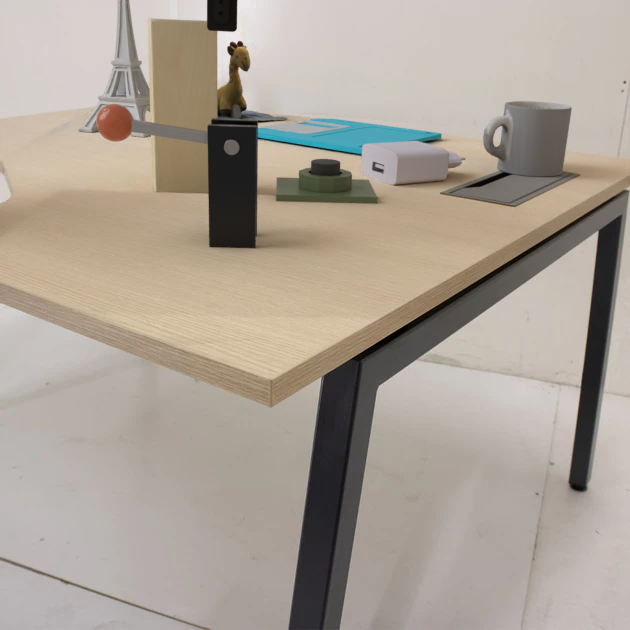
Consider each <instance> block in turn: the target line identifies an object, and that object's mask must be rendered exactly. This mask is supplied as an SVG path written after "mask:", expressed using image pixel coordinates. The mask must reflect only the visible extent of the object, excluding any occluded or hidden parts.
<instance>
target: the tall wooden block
mask: <svg viewBox="0 0 630 630" xmlns="http://www.w3.org/2000/svg"><path fill="white" fill-rule="evenodd" d="M146 22H147V23H146V25H147V28H146V29H147V51H148V53H147V55H148V83H149V84H148V86H149V89H150V112H149V113H150V114H149V119H150V120H149V122H152V123H158V124H165V125H171V126H177V127H183V128H189V129H195V130H202V131H207V126H208V124H211V120H212V118H217V90H218V31H210V30H208V29H207V20H200V19H177V18H153V17H147V20H146ZM150 149H151V153H150V154H151V180H152V182H151V183H152V184H151V185H152V188H153V191H154V193H163V194H164V193H166V194H167V193H168V194H169V193H170V194H201V195H202V194H205V195H208V144H203V143H197V142H191V141H185V140H178V139H172V138H166V137H160V136H154V135H150Z"/></svg>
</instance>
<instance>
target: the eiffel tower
mask: <svg viewBox="0 0 630 630" xmlns="http://www.w3.org/2000/svg"><path fill="white" fill-rule="evenodd" d="M116 3H117V5H116V7H117V9H116V10H117V12H116V13H117V14H116V32H115V33H116V36H115V48H114V57H113V58H114V59H113V60H111V61H110V64H111V65H112V68H111V72H110V75H109V78H108V82H107V84H106V87H105V90H104V92H103V93H102V95H98V96H97V98H98V100H99V101H98V103H97V104H96V106H95V107H94V108H93V110H92V111H91V113H90V114H89V115H88V117H87V118H86V120H85V121H84V123H83V124H82V125H81V126H80V128H78V132H83V133H95V132H99V131H98V129H97V126H96V118H97V115H98V113H99V111H100V110H101V109H102V108H103V107H105V106H106V105H109V104H119V105H122V106H124V107H125V108H127V109H128V110H129V111H130V113H131V114H132V116H133V119H134V120H140V121H146V122H147V120H146V113H147V112H149V113H150V89H149V84H148V82H147V80H146V78H145V75H144V73H143V70H142V68H141V65H142V63H143V61H142V60H139V56H138V51H137V46H136V40H135V33H134V28H133V20H132V11H131V5H130V4H131V3H130V0H117V2H116ZM149 136H150V137H151V135H147V134H141V133H135V132H132V133H131V135H130V136H129V137H137V138H138V137H139V138H146V137H149Z"/></svg>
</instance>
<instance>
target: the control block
mask: <svg viewBox="0 0 630 630" xmlns="http://www.w3.org/2000/svg"><path fill="white" fill-rule="evenodd" d="M275 189H276V190H275V201H276V202H293V203H295V202H296V203H297V202H298V203H331V204H332V203H334V204H336V203H337V204H372V205H373V204H375V205H376V204H378V196H377V194H376V192H375V190H374V188H373V186H372V183H371V181H370V180H369V179H359V178H358V179H355V178H353V173H352V172H351V171H349V170H347V169H343V168H340V175H336V176H320V175H313V174H311V167H305V168H303V169H299V170H298V177H283V176H282V177H281V176H280V177H276V188H275Z"/></svg>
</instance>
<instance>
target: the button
mask: <svg viewBox="0 0 630 630" xmlns="http://www.w3.org/2000/svg"><path fill="white" fill-rule="evenodd" d="M310 168H311V174H313V175H320V176H336V175H340V169H341V161H340V160H337V159H332V158H329V159H328V158H316V159H312V160H311V161H310Z"/></svg>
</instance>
